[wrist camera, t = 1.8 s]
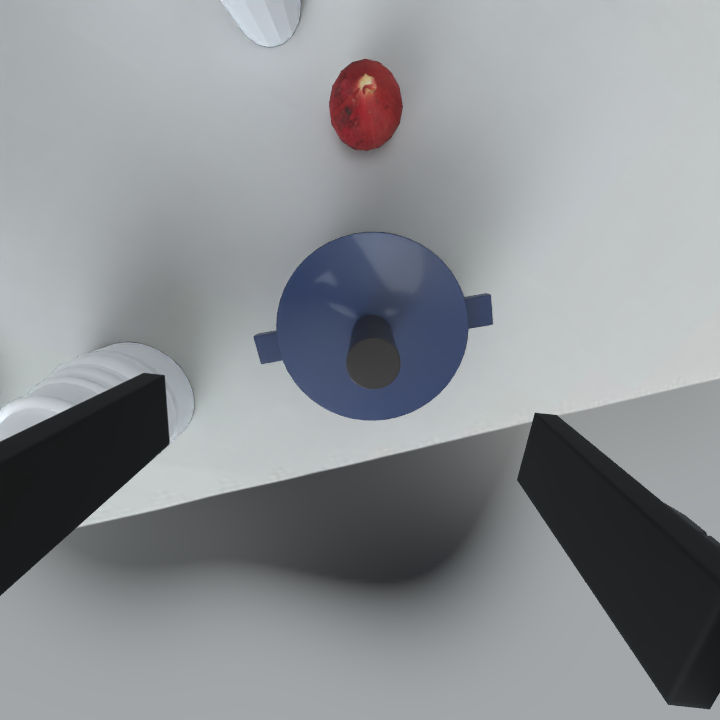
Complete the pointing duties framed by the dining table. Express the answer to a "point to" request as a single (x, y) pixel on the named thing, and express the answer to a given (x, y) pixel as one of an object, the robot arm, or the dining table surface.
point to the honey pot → (100, 386)
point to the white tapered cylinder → (265, 19)
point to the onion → (365, 105)
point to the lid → (372, 326)
